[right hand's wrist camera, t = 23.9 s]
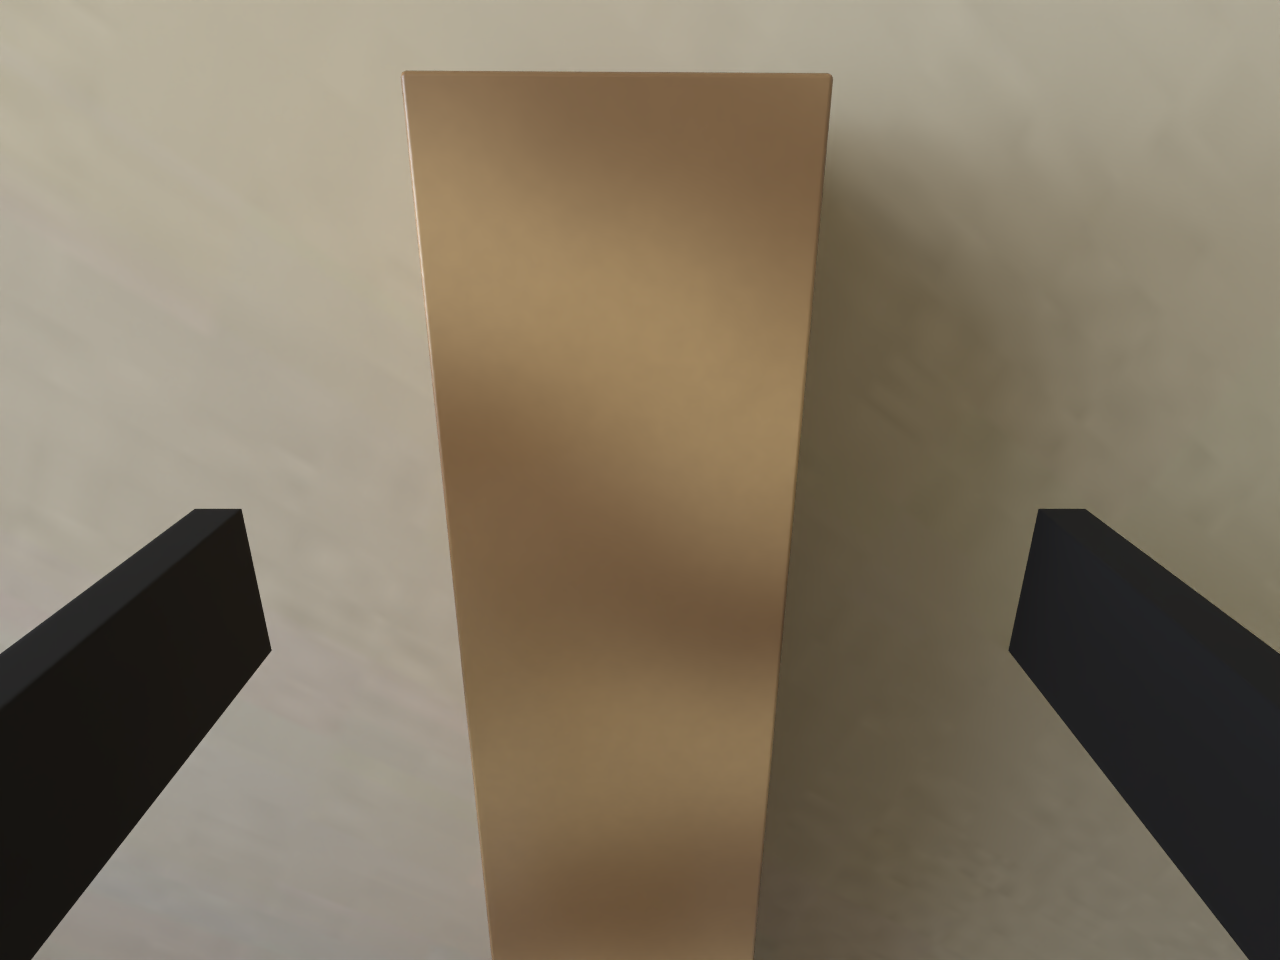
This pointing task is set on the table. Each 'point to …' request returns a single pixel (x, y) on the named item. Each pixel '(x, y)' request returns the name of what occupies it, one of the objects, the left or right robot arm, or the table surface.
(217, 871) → the table surface
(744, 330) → the post
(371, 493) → the table surface
